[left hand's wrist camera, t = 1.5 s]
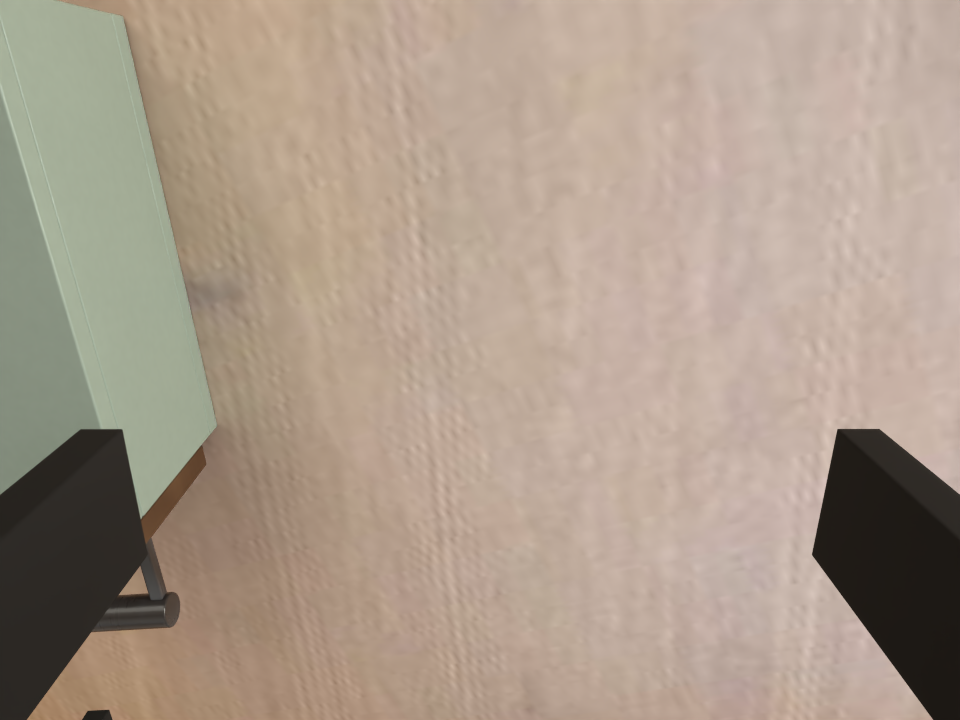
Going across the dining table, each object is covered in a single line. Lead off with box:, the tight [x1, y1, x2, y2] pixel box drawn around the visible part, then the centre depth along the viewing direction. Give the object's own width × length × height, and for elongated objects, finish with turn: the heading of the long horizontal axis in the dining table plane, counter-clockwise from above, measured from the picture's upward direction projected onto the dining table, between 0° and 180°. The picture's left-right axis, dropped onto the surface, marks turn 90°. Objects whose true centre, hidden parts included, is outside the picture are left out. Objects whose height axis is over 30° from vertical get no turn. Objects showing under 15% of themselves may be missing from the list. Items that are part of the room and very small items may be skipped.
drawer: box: [92, 446, 206, 632], centre depth 32 cm, size 25×9×8 cm, turn 4°
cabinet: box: [0, 0, 217, 518], centre depth 30 cm, size 21×10×10 cm, turn 4°
